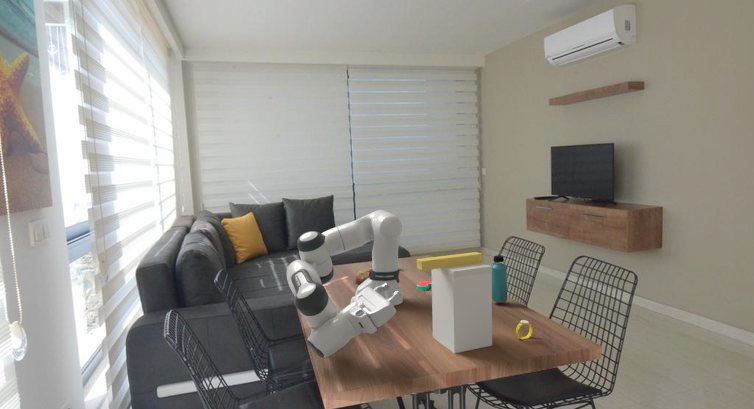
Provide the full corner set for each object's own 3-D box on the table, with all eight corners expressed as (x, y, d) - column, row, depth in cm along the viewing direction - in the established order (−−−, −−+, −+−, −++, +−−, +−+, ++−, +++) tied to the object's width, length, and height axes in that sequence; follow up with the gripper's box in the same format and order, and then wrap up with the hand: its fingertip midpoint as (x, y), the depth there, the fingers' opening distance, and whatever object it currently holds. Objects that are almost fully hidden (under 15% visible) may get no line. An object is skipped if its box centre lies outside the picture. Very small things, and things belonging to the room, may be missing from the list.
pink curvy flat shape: (445, 280, 224) (445, 275, 224) (461, 288, 209) (461, 283, 209) (408, 284, 218) (408, 280, 218) (422, 294, 203) (422, 288, 203)
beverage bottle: (508, 306, 181) (508, 257, 179) (491, 305, 182) (490, 257, 180) (506, 301, 187) (506, 254, 185) (490, 300, 189) (490, 254, 187)
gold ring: (528, 336, 151) (529, 319, 151) (533, 339, 148) (535, 321, 148) (513, 338, 149) (514, 320, 148) (519, 341, 146) (520, 323, 146)
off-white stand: (454, 353, 139) (453, 271, 136) (432, 337, 152) (431, 262, 149) (492, 345, 144) (491, 266, 141) (468, 330, 157) (467, 257, 154)
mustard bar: (421, 270, 138) (421, 261, 138) (416, 268, 142) (416, 259, 141) (481, 262, 146) (481, 253, 146) (475, 260, 150) (475, 251, 149)
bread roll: (358, 286, 229) (351, 273, 228) (376, 277, 229) (369, 264, 228) (359, 292, 219) (351, 278, 218) (378, 282, 219) (370, 268, 218)
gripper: (352, 313, 145) (386, 288, 148) (374, 336, 126) (412, 306, 129) (342, 298, 143) (377, 273, 146) (363, 319, 124) (402, 289, 127)
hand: (394, 288), depth 138 cm, fingers open, 8 cm apart
